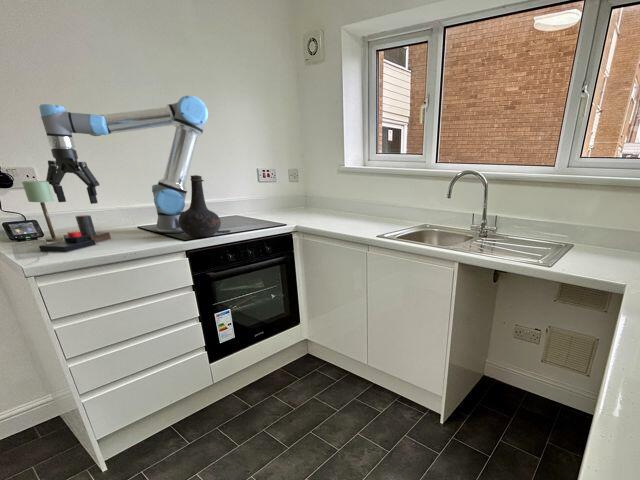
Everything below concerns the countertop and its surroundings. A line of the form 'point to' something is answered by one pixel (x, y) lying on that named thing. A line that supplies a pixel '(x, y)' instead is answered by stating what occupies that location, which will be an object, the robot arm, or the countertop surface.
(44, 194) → the lamp
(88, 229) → the dark grey tall block
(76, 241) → the lamp base
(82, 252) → the countertop surface
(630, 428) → the countertop surface
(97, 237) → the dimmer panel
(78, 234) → the power button
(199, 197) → the glass bottle
